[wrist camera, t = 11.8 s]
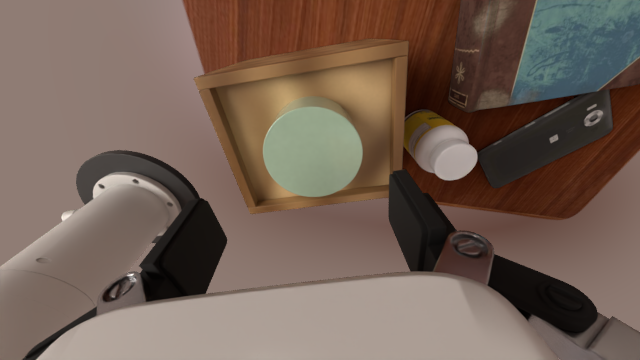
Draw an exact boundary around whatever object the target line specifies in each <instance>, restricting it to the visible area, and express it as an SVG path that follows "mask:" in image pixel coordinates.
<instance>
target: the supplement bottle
mask: <svg viewBox="0 0 640 360" xmlns="http://www.w3.org/2000/svg"><path fill="white" fill-rule="evenodd" d="M403 146H404V147H405V148H406V150H407V151H408V152H409V153H410V155H411V156H412V157H413V158H414V160H415V161H416V162H417V163H418V165H419V166H420V167H421V168H422V169H424V170H426V171H428V172H431V173H435V174H436V175H437V176H438V177H439V178H441V179H444V180H456V179H459V178H462V177H464V176H465V175H467V174H468V173H469V172H470V171H471V170H472V169H473V168H474V166H475V165H476V162H477V152H476V150H475V148H474V147H472V146H471V145H470V144H469V141H468V138H467V135H466V134H465V133H464V132H463V131H462V130H461V129H460V128H458V127H457V126H455V125H454V124H452V123H451V122H449V121H447V120H446V119H444V118H442V117H441V116H439V115H437V114H436V113H434V112H432V111H430V110H417V111H414V112H412V113H411V114H409V115H408V116H407V117H406V118H405V125H404V144H403Z"/></svg>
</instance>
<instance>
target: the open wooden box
mask: <svg viewBox="0 0 640 360" xmlns="http://www.w3.org/2000/svg"><path fill="white" fill-rule="evenodd" d="M408 50H409V41H404V40H386V39H364V40H359V41H353V42H347V43H342V44H336V45H330V46H325V47H319V48H313V49H308V50H302V51H296V52H291V53H285V54H279V55H274V56H268V57H262V58H257V59H251V60H245V61H242V62H239V63H236V64H233V65H230V66H228V67H225V68H222V69H219V70H216V71H213V72H210V73H207V74H204V75H201V76H198V77H195V78H194V81H195V83H196V85H197V88H198V90H199V93H200V95H201V98H202V100H203V102H204V105H205V107H206V109H207V112H208V114H209V117H210V119H211V121H212V124H213V126H214V129H215V131H216V133H217V136H218V138H219V141H220V143H221V145H222V148H223V150H224V153H225V155H226V157H227V160H228V162H229V164H230V167H231V169H232V171H233V173H234V176H235V179H236V181H237V184H238V186H239V188H240V191H241V193H242V195H243V198H244V200H245V203H246V205H247V207H248V209H249V212H250V214H256V213H264V212H272V211H281V210H289V209H297V208H305V207H313V206H321V205H330V204H338V203H346V202H354V201H362V200H371V199H378V198H387V197H389V175H390V174H393V171H396V170H402V163H403V144H404V125H405V105H406V86H407V67H408V56H407V55H408ZM307 96H319V97H324V98H328V99H330V100H333V101H335V102H336V103H338V104H339V105H341V106H342V107H343V108H344V109H345V110H346V111H347V112H348V113H349V114H350V116H351V118H352V119H353V122H354V124H355V126H356V129H357V131H358V134H359V136H360V139H361V142H362V148H363V157H362V163H361V166H360V168H359V171H358V173H357V174H356V176H355V177H354V179H353V180H352V181H351V182H350V183H349V184H348V185H347V186H345V187H344V188H343V189H341V190H339V191H337V192H335V193H333V194H330V195H326V196H321V197H306V196H301V195H297V194H294V193H292V192H290V191H288V190H286V189H284V188H283V187H281V186H280V185H279V184H278V183H277V182H276V181H275V180H274V179H273V178H272V177H271V175H270V174H269V172H268V170H267V168H266V166H265V163H264V159H263V144H264V139H265V137H266V134H267V132H268V130H269V128H270V126H271V125H272V123H273V121H274V119H275V117H276V115H277V114H278V113H279V111H280V110H281V109H282V108H283V107H284V106H286V105H287V104H288V103H290V102H292V101H293V100H296V99H299V98H302V97H307Z"/></svg>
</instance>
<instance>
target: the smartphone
mask: <svg viewBox="0 0 640 360" xmlns="http://www.w3.org/2000/svg"><path fill="white" fill-rule="evenodd" d="M612 128H613V122H612V112H611V101H610V90H609V89H608V90H602V91H596V92H590V93H584V94H581V95H579V96H577V97H575V98H574V99H572V100H570V101H568V102H566V103H565V104H563V105H561V106H559V107H557V108H556V109H554V110H552V111H550V112H549V113H547V114H545V115H543V116H541V117H540V118H538V119H536V120H534V121H532V122H531V123H529V124H527V125H525V126H523V127H522V128H520V129H518V130H516V131H515V132H513V133H511V134H509V135H507V136H506V137H504V138H502V139H500V140H498V141H497V142H495V143H493V144H491V145H490V146H488V147H486V148H484V149H482V150H481V151H480V152H479V153H478V154H477V157H478V160H479V162H480V164H481V166H482V168H483V171H484V173H485V175H486V177H487V179H488V181H489V183H490V185H491V186H492V187H493V188H499V187H502V186H504V185H506V184H508V183H510V182H512V181H514V180H516V179H518V178H520V177H522V176H524V175H526V174H528V173H530V172H532V171H534V170H536V169H538V168H540V167H542V166H544V165H546V164H548V163H550V162H552V161H554V160H556V159H558V158H560V157H562V156H565V155H567V154H569V153H571V152H573V151H575V150H577V149H579V148H581V147H583V146H585V145H587V144H589V143H591V142H593V141H595V140H597V139H599V138H601V137H603V136H605V135H607V134H608V133H610V132H611V130H612Z"/></svg>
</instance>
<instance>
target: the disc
mask: <svg viewBox="0 0 640 360" xmlns="http://www.w3.org/2000/svg"><path fill="white" fill-rule="evenodd" d="M362 157H363V148H362V142H361V139H360V136H359V134H358V131H357V129H356V126H355V124H354V122H353V119H352V118H351V116H350V114H349V113H348V112H347V111H346V110H345V109H344V108H343V107H342V106H341V105H339V104H338V103H336V102H335V101H333V100H330V99H328V98H324V97H319V96H307V97H302V98H299V99H296V100H293V101H292V102H290V103H288V104H287V105H286V106H284V107H283V108H282V109H281V110H280V111H279V113H278V114H277V115H276V117H275V119H274V121H273V123H272V125H271V126H270V128H269V130H268V132H267V134H266V137H265V139H264V144H263V159H264V163H265V166H266V168H267V170H268V172H269V174H270V175H271V177H272V178H273V179H274V180H275V181H276V182H277V183H278V184H279V185H280V186H281V187H283V188H284V189H286V190H288V191H290V192H292V193H294V194H297V195H301V196H306V197H321V196H326V195H330V194H333V193H335V192H337V191H339V190H341V189H343V188H344V187H345V186H347V185H348V184H349V183H350V182H351V181H352V180H353V179H354V177H355V176H356V174H357V173H358V171H359V168H360V166H361V163H362Z"/></svg>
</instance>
